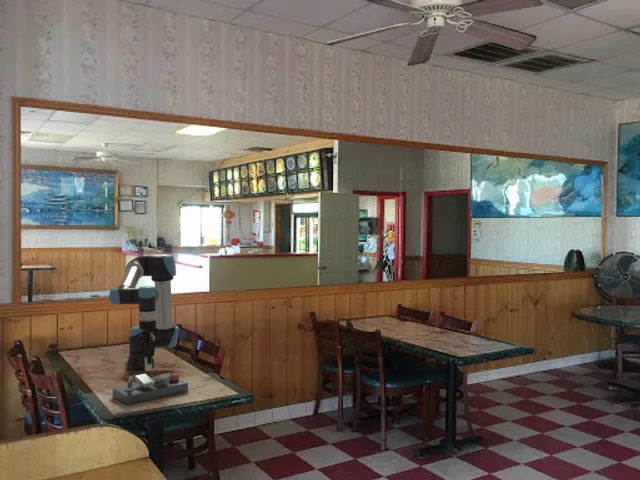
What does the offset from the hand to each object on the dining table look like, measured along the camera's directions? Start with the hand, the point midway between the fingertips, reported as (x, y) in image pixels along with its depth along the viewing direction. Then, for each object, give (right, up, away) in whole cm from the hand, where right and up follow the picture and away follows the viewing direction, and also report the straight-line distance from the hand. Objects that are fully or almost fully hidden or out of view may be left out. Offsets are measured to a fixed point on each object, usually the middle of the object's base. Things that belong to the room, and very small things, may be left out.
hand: (148, 370), depth 258 cm
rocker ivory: (+3, -5, +8) cm, 10 cm away
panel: (0, -12, +5) cm, 13 cm away
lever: (-8, -8, -2) cm, 11 cm away
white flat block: (-3, -5, +3) cm, 7 cm away
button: (+8, -8, +13) cm, 17 cm away
